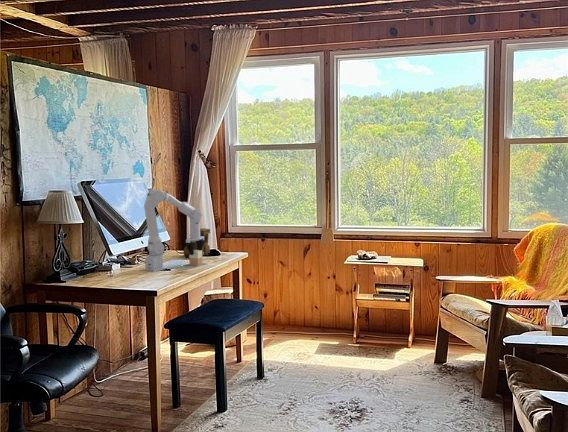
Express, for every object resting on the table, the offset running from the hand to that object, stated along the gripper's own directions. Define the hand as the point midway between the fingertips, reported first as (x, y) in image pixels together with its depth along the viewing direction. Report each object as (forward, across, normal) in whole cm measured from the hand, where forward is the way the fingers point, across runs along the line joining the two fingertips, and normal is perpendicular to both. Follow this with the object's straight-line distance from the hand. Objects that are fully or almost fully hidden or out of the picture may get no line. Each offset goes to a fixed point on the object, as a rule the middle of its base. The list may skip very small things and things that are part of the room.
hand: (195, 253), depth 329 cm
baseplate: (+7, -6, 0) cm, 9 cm away
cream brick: (+2, 0, 0) cm, 2 cm away
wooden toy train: (+7, +27, +19) cm, 34 cm away
